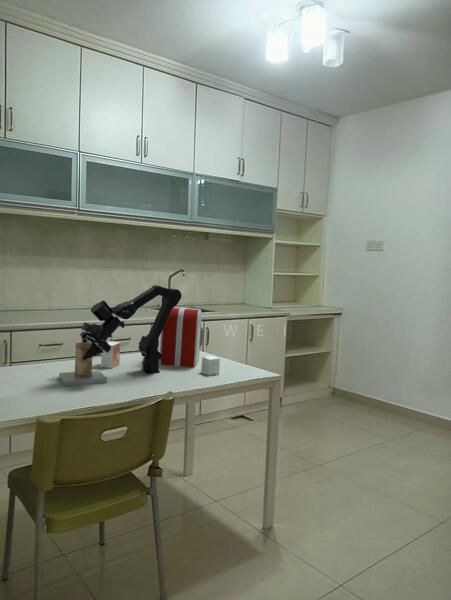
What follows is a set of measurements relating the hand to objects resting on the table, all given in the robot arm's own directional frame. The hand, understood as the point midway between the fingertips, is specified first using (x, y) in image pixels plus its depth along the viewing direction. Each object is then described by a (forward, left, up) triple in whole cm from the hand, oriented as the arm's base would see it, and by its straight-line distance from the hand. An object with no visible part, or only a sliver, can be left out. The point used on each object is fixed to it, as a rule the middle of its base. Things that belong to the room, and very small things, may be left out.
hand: (80, 357), depth 182 cm
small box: (-18, -19, -10) cm, 28 cm away
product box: (-57, +5, -10) cm, 58 cm away
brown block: (-1, 0, -7) cm, 8 cm away
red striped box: (-52, -17, -10) cm, 56 cm away
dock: (-1, 0, -10) cm, 10 cm away
